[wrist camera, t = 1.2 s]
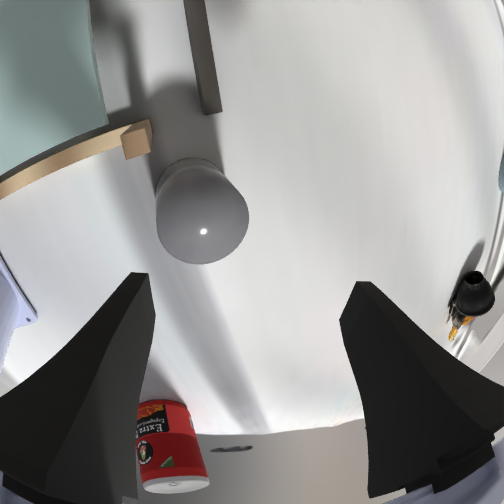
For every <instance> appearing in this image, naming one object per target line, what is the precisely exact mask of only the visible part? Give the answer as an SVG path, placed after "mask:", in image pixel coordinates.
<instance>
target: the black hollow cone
mask: <svg viewBox="0 0 504 504" xmlns="http://www.w3.org/2000/svg"><path fill="white" fill-rule="evenodd" d="M494 301H495V296H494V292H493V291H492V289H491V286H490V284H489V282H488V281H487V280H486V279H485V278H484V277H483V275H482V273H481V272H479V271H471V272H469V273H467V274H466V275H465V277H464V281H463V282H462V283H461V285H460V287H459V289H458V293H457V296H456V298H455V300H453V301H452V303H451V305H450V310H449V316H452V323H453V327H452V330H451V331H450V333H449V341H450V342H451V341H453V340H454V337H455V335H456V333H457V331H458V329H459V328H460V327H461V325H466V324H467V322H469V321H470V320H471V319H473V318H474V317H477V316H481V315H483V314H485V313H487V312H488V311H489V310H490V309H491V308H492V306H493V305H494Z"/></svg>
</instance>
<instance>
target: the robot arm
mask: <svg viewBox="0 0 504 504" xmlns="http://www.w3.org/2000/svg"><path fill="white" fill-rule="evenodd" d="M155 317H156V315H155V309H154V304H153V298H152V293H151V287H150V281H149V274H148V273H135V272H131V273H130V274H129V275H128V276H127V277H126V278H125V280H124V281H123V282H122V283H121V284H120V285H119V287H118V288H117V289H116V290H115V291H114V292H113V294H112V295H111V296H110V297H109V298H108V299H107V301H106V302H105V303H104V304H103V305H102V306H101V307H100V309H99V310H98V311H97V312H96V313H95V314H94V316H93V317H92V318H91V319H90V320H89V321H88V322H87V323H86V324H85V325H84V326H83V327H82V328H81V330H80V331H79V332H78V333H77V334H76V335H75V336H74V337H73V338H72V339H71V340H70V341H69V342H68V343H67V344H66V345H65V346H64V347H63V348H62V349H61V350H60V351H59V352H58V353H57V354H56V355H55V356H53V357H52V358H51V359H50V360H49V361H48V362H47V363H45V364H44V365H43V366H42V367H41V368H39V369H38V370H37V371H36V372H35V373H33V374H32V375H31V376H30V377H29V378H27V379H26V380H25V381H23V382H22V383H20V384H19V385H18V386H16V387H15V388H13V389H12V390H11V391H9V392H8V393H6V394H5V395H3V396H2V397H0V504H122V503H124V504H133V503H135V502H136V501H137V500H138V493H137V480H136V426H137V412H138V403H139V397H140V392H141V387H142V383H143V378H144V374H145V369H146V365H147V361H148V357H149V353H150V348H151V344H152V339H153V332H154V324H155ZM29 318H30V319H29ZM37 319H38V316H37V314H36V313H35V311H34V310H33V308H32V307H31V305H30V304H29V303H28V301H27V300H26V298H25V296H24V295H23V293H22V292H21V290H20V289H19V287H18V285H17V284H16V282H15V281H14V279H13V277H12V276H11V274H10V272H9V270H8V269H7V267H6V265H5V263H4V261H3V260H2V258H1V256H0V374H1V370H2V366H3V363H4V359H5V356H6V352H7V349H8V346H9V343H10V340H11V337H12V334H13V331H14V329H15V328H18V327H21V326H25V325H28V324H32V323H35V322H37ZM339 321H340V327H341V332H342V337H343V342H344V346H345V349H346V352H347V355H348V358H349V361H350V364H351V367H352V370H353V373H354V376H355V379H356V383H357V386H358V389H359V392H360V396H361V400H362V405H363V410H364V417H365V423H366V430H367V439H368V458H369V469H368V470H369V472H368V495H369V498H374V497H377V496H381V495H385V494H388V493H391V492H395V491H397V490H400V489H403V488H405V489H406V493H407V494H405V495H403V496H401V497H398V498H396V499H393V500H391V501H388V502H386V503H383V504H500V503H501V502H502V501H503V500H504V438H502V439H501V440H499V441H498V442H497V443H495V444H494V445H491V442H492V441H494V439H495V436H494V433H495V432H497V431H498V430H499V429H501V428H502V427H503V426H504V387H503V386H501V385H499V384H497V383H495V382H493V381H491V380H489V379H488V378H486V377H484V376H482V375H480V374H479V373H477V372H476V371H474V370H472V369H471V368H469V367H468V366H466V365H465V364H464V363H462V362H461V361H459V360H458V359H456V358H455V357H454V356H452V355H451V354H450V353H449V352H447V351H446V350H445V349H444V348H442V347H441V346H440V345H439V344H437V343H436V342H435V341H434V340H433V339H432V338H431V337H429V336H428V335H427V334H426V333H425V332H424V331H423V330H422V329H421V328H419V327H418V326H417V325H416V324H415V323H414V322H413V321H412V320H411V319H410V318H409V317H408V316H407V315H406V314H405V313H404V312H403V311H402V310H401V309H400V308H399V307H398V306H397V305H396V304H394V303H393V302H392V301H391V300H390V299H389V298H388V297H387V296H386V295H385V294H384V293H383V292H382V291H381V290H380V289H379V288H377V287H376V286H375V285H374V284H373V283H371V282H365V281H356V283H355V286H354V288H353V290H352V293H351V295H350V297H349V299H348V302H347V304H346V306H345V308H344V310H343V313H342V315H341V317H340V319H339Z"/></svg>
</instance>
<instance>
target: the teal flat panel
mask: <svg viewBox="0 0 504 504" xmlns="http://www.w3.org/2000/svg"><path fill="white" fill-rule="evenodd" d="M107 124H109V121H108V117H107V113H106V108H105V104H104V99H103V94H102V89H101V84H100V79H99V74H98V68H97V62H96V56H95V49H94V42H93V34H92V26H91V16H90V5H89V0H0V175H2V174H3V173H5V172H7V171H9V170H10V169H12V168H14V167H15V166H17V165H19V164H21V163H23V162H24V161H26V160H28V159H30V158H32V157H34V156H36V155H38V154H40V153H42V152H44V151H46V150H48V149H50V148H52V147H54V146H56V145H58V144H61V143H63V142H65V141H67V140H69V139H72V138H74V137H76V136H79V135H81V134H84V133H86V132H89V131H91V130H94V129H96V128H99V127H102V126H104V125H107Z"/></svg>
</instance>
